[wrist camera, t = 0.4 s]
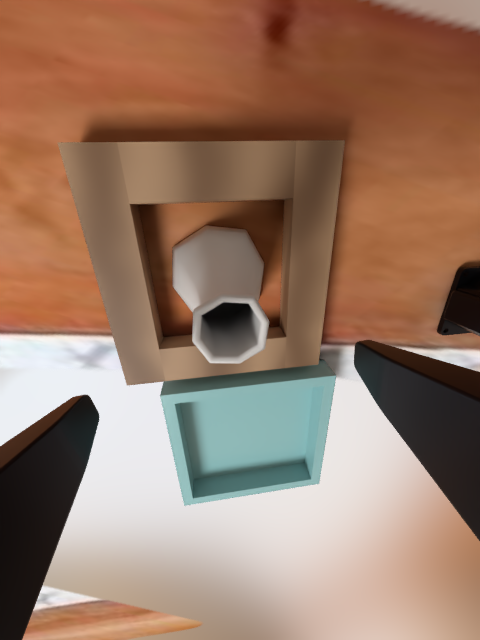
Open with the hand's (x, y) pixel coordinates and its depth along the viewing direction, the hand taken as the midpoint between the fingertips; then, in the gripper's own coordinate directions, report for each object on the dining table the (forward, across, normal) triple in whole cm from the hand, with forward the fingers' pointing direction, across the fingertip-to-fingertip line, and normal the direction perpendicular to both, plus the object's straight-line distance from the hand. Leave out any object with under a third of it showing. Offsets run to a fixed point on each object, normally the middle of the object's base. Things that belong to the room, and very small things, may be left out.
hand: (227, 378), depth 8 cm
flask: (+12, 0, -1) cm, 12 cm away
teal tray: (+12, 0, +16) cm, 20 cm away
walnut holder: (+12, 0, -1) cm, 12 cm away
